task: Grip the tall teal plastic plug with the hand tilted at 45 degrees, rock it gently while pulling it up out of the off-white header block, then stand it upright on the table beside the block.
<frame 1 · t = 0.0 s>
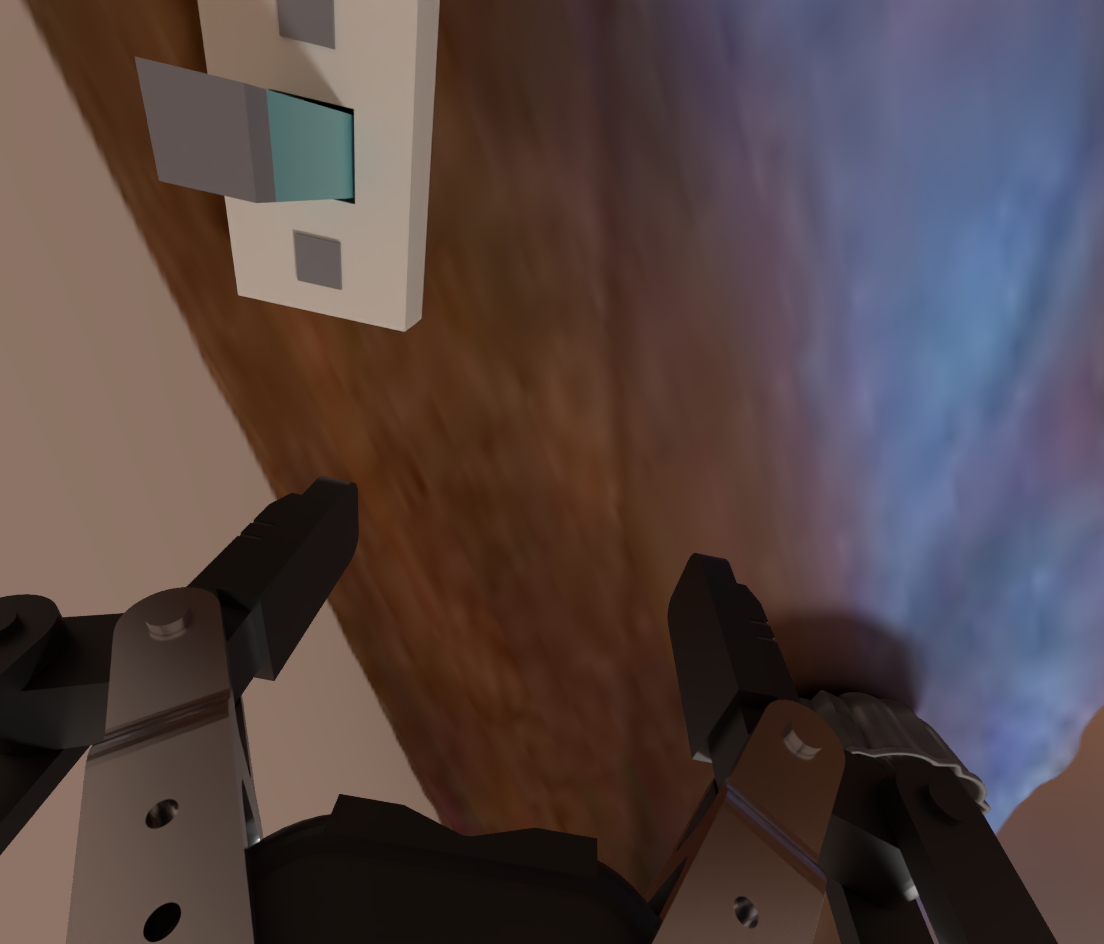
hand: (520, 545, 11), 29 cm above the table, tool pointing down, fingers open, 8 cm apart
plug: (287, 145, 27), in the header
bundt pan: (818, 730, 62), on the table
header: (342, 153, 33), on the table
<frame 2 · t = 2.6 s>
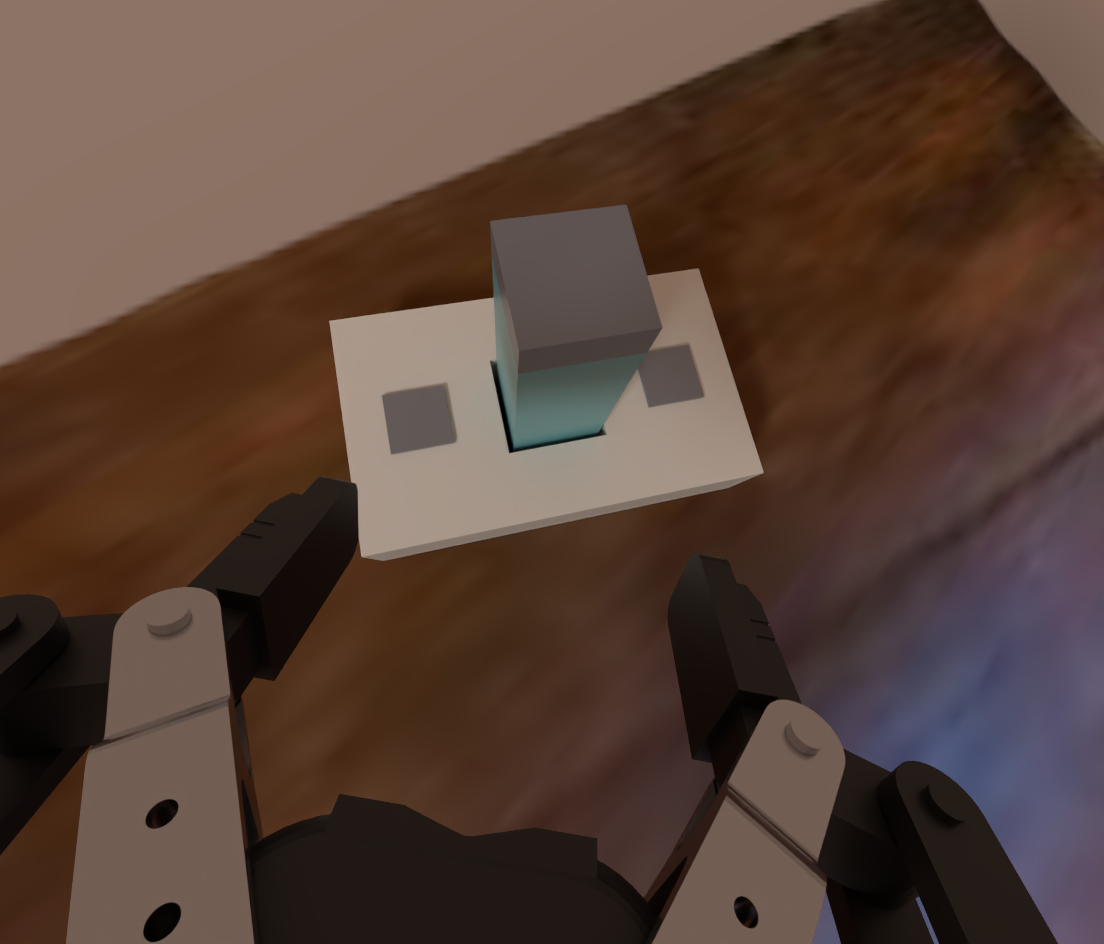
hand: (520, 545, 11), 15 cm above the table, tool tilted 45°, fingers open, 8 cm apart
plug: (553, 372, 21), in the header
header: (542, 422, 28), on the table
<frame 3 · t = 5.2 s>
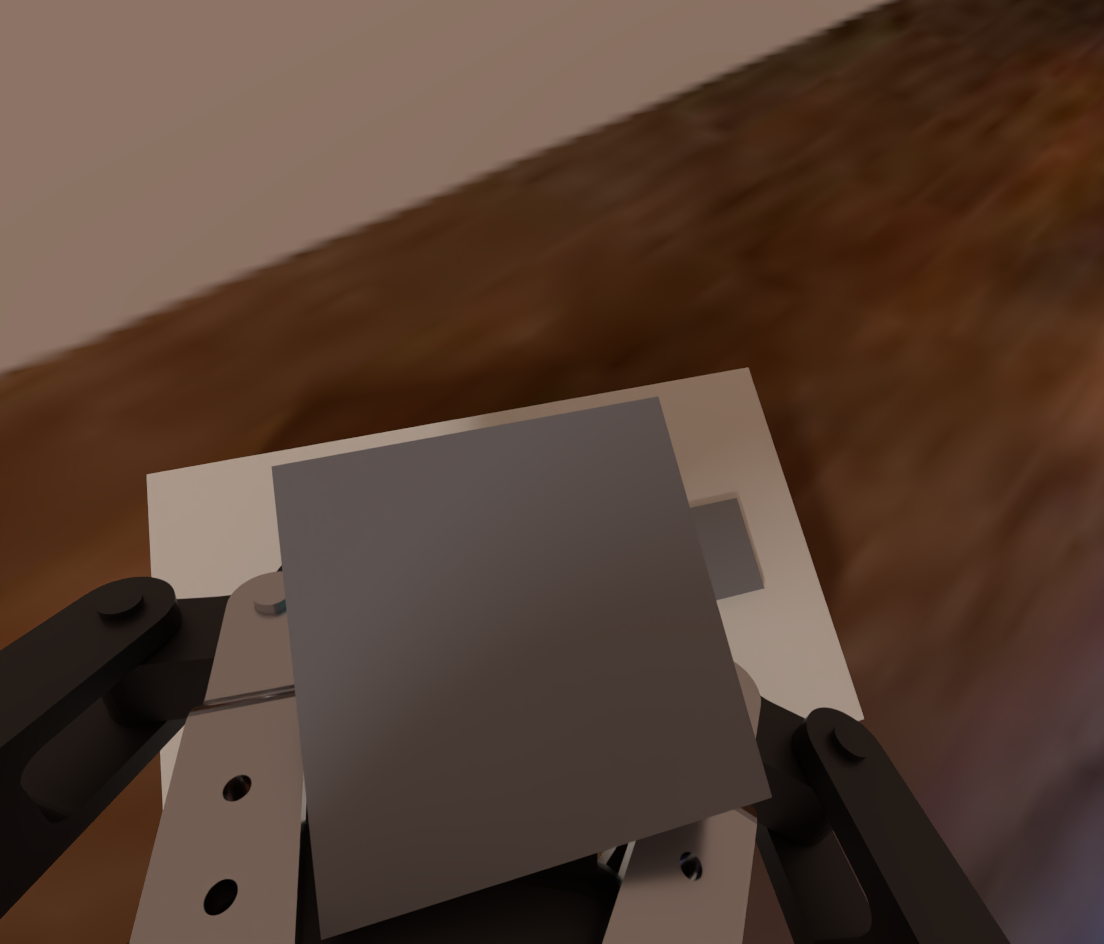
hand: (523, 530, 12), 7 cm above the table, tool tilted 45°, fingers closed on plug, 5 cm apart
plug: (509, 601, 12), in the header, touching gripper
header: (508, 594, 19), on the table
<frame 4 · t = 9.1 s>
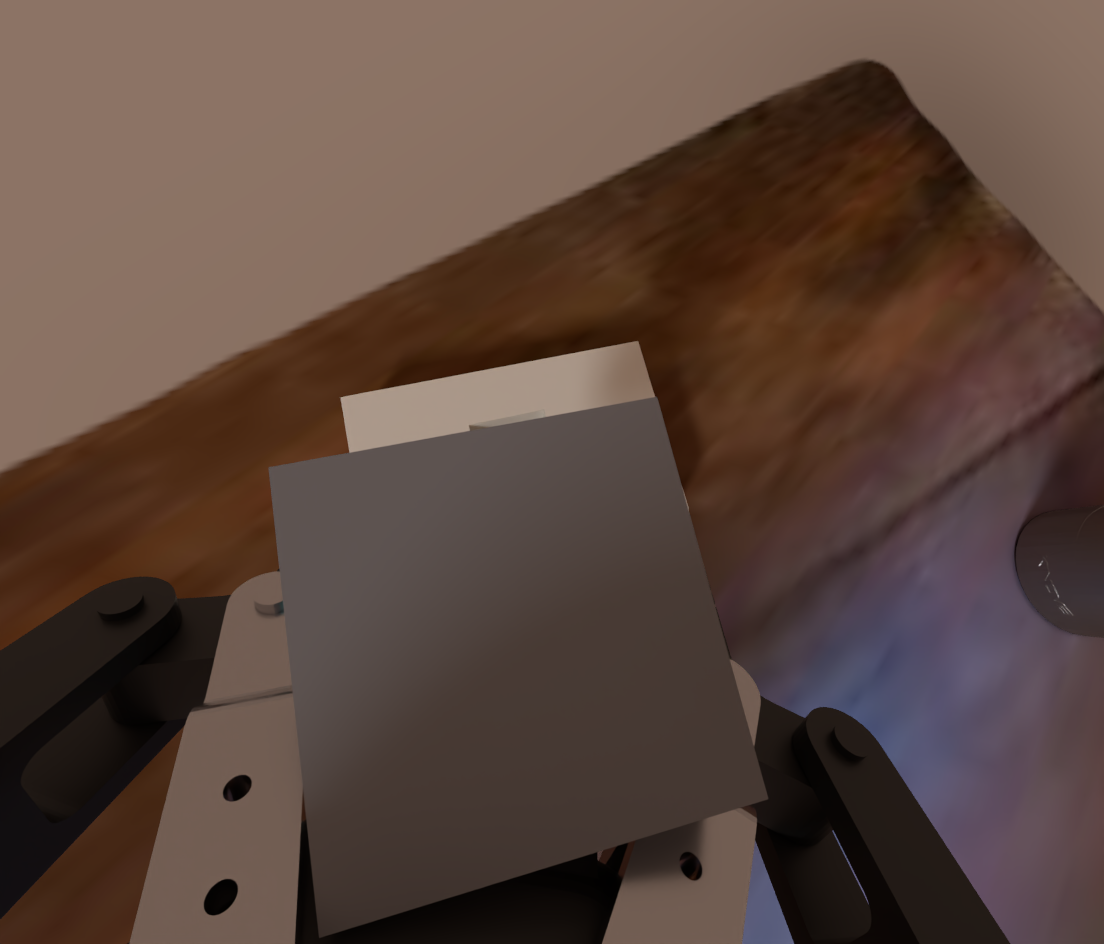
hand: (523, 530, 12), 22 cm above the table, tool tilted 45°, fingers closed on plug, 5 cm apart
plug: (510, 598, 12), point 21 cm above the table, touching gripper
header: (515, 467, 34), on the table
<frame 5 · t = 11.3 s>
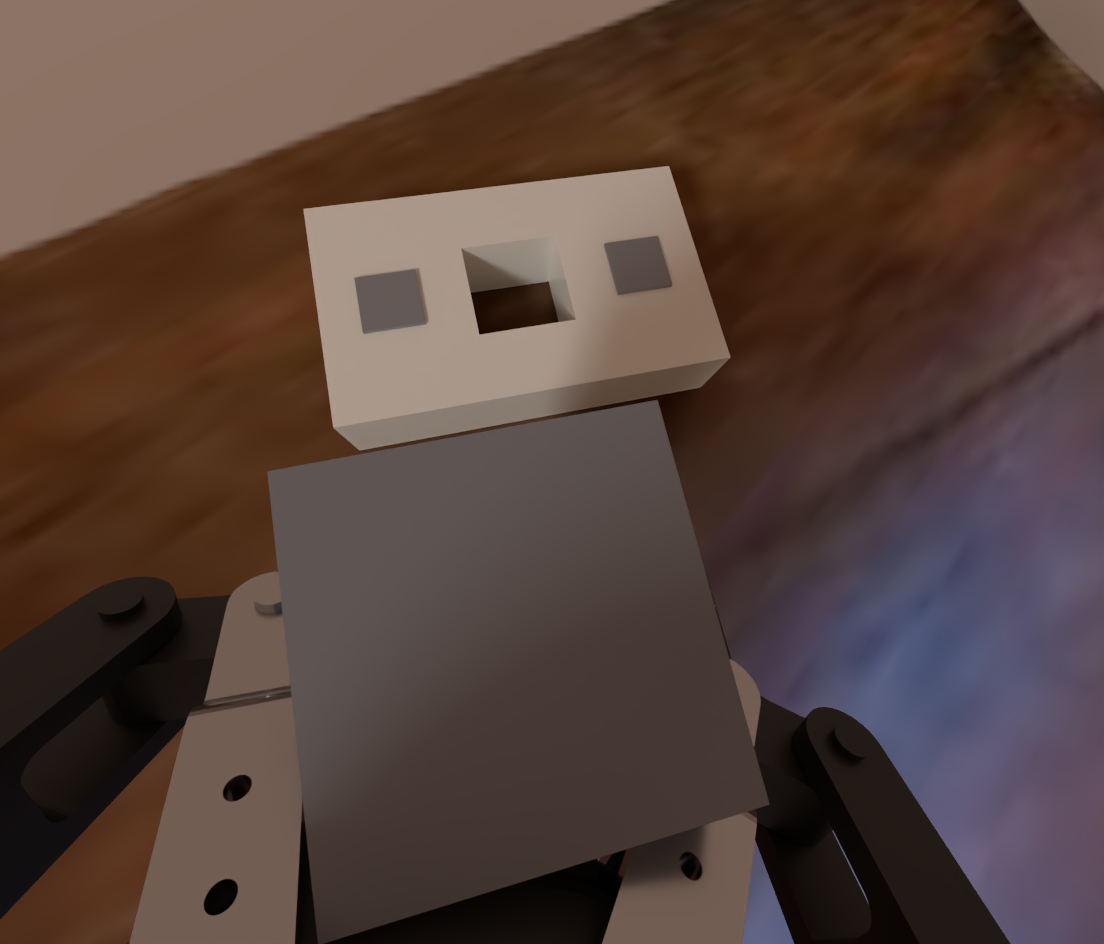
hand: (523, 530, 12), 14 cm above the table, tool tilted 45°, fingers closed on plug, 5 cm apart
plug: (510, 600, 12), point 14 cm above the table, touching gripper
header: (516, 324, 29), on the table
when the fingers open (9 cm above the table, at t = 13.1 s): plug drops 1 cm, on the table.
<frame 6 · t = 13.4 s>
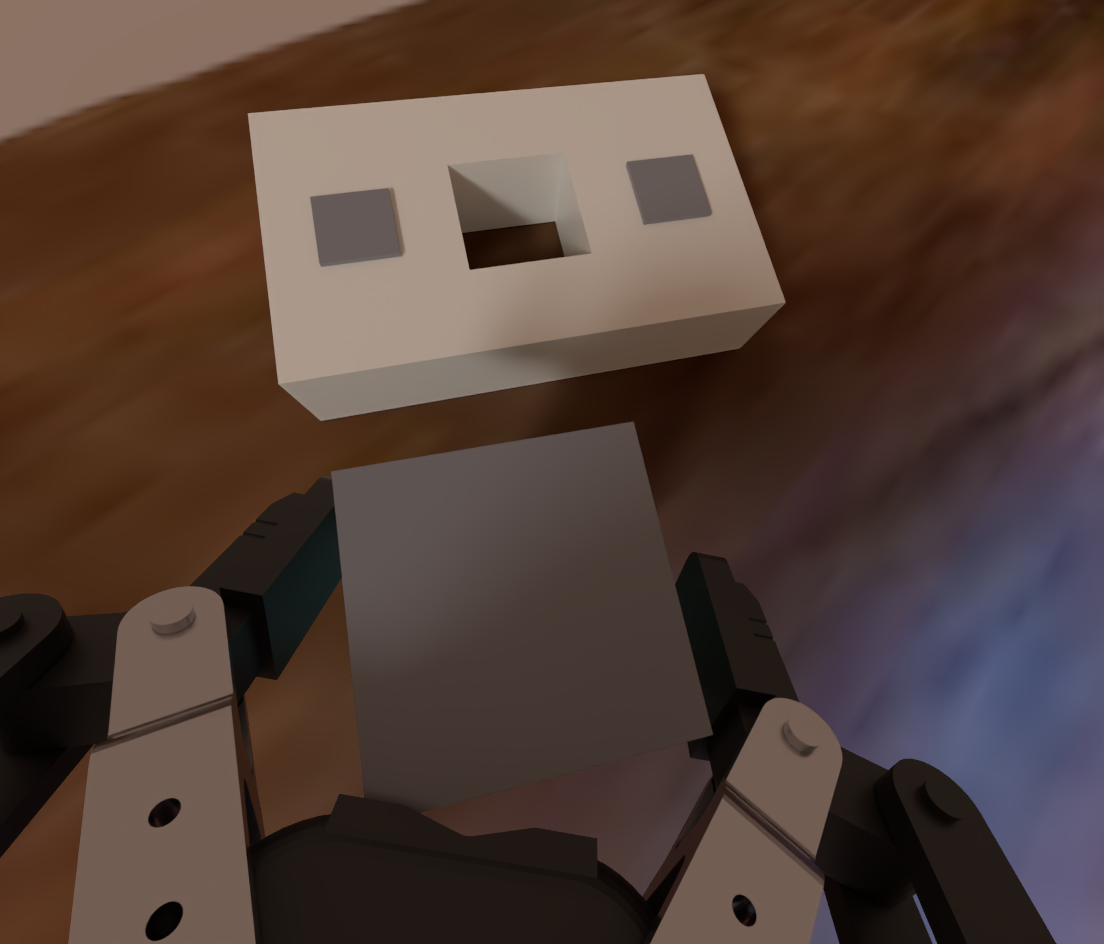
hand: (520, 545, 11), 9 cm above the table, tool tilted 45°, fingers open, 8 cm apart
plug: (511, 594, 13), on the table
header: (517, 270, 23), on the table
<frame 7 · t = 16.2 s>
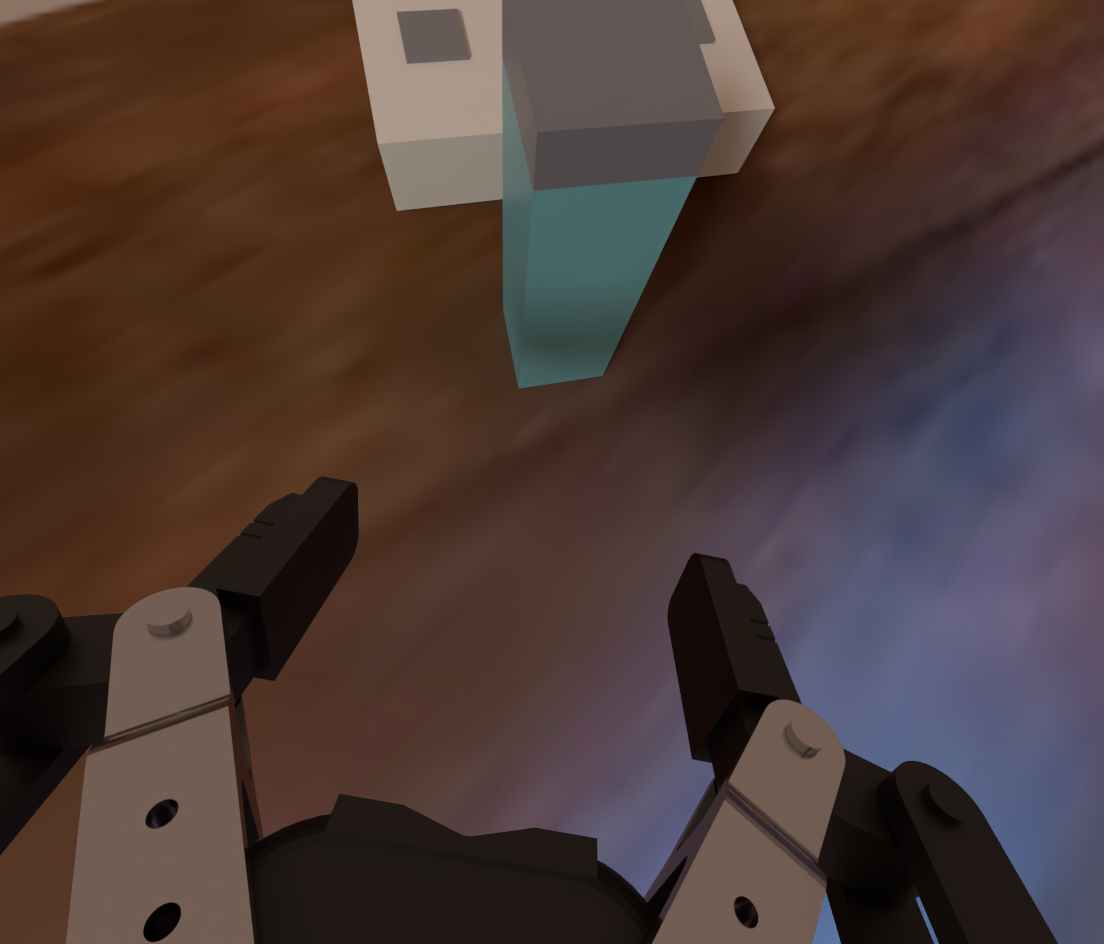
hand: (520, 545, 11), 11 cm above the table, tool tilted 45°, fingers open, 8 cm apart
plug: (571, 251, 18), on the table
header: (553, 106, 28), on the table
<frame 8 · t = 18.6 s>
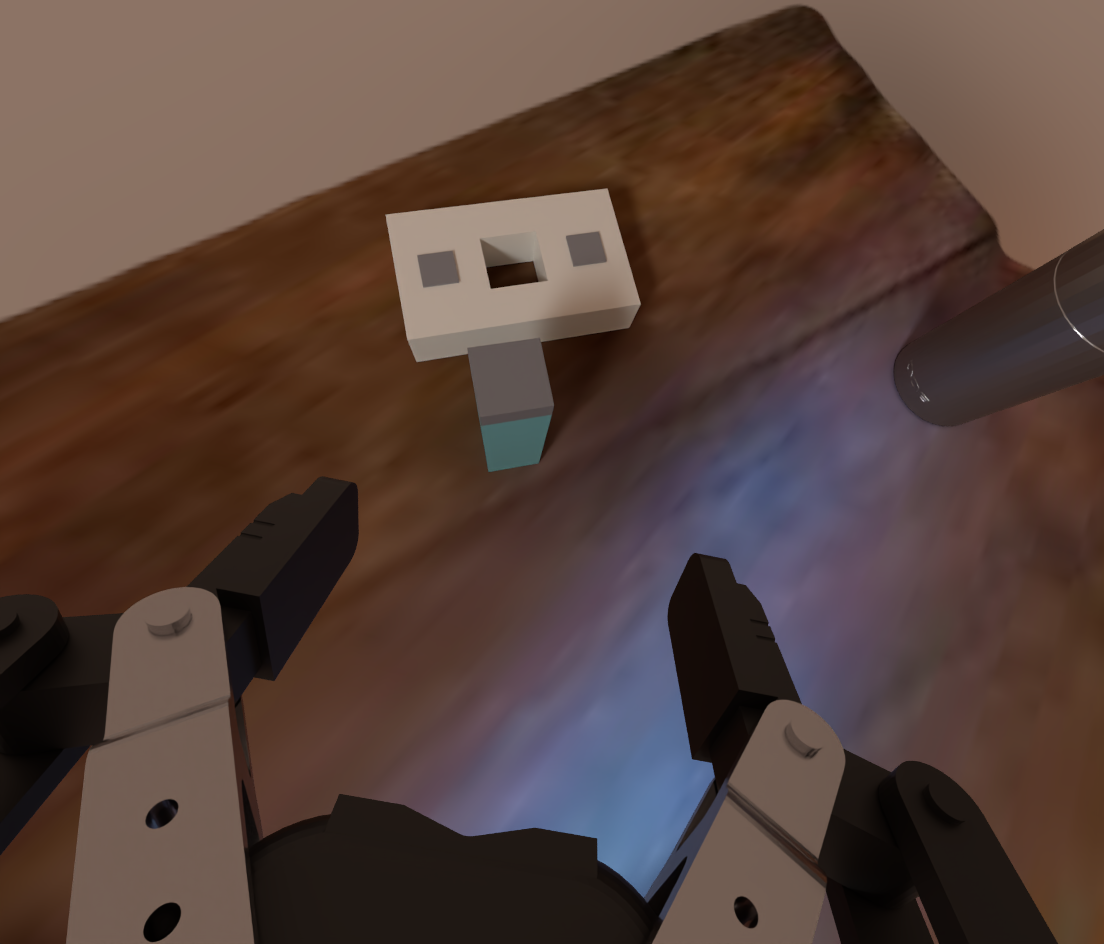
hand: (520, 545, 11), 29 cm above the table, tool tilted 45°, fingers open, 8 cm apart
plug: (509, 416, 35), on the table
header: (513, 287, 45), on the table
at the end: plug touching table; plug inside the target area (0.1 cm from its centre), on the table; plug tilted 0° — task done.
